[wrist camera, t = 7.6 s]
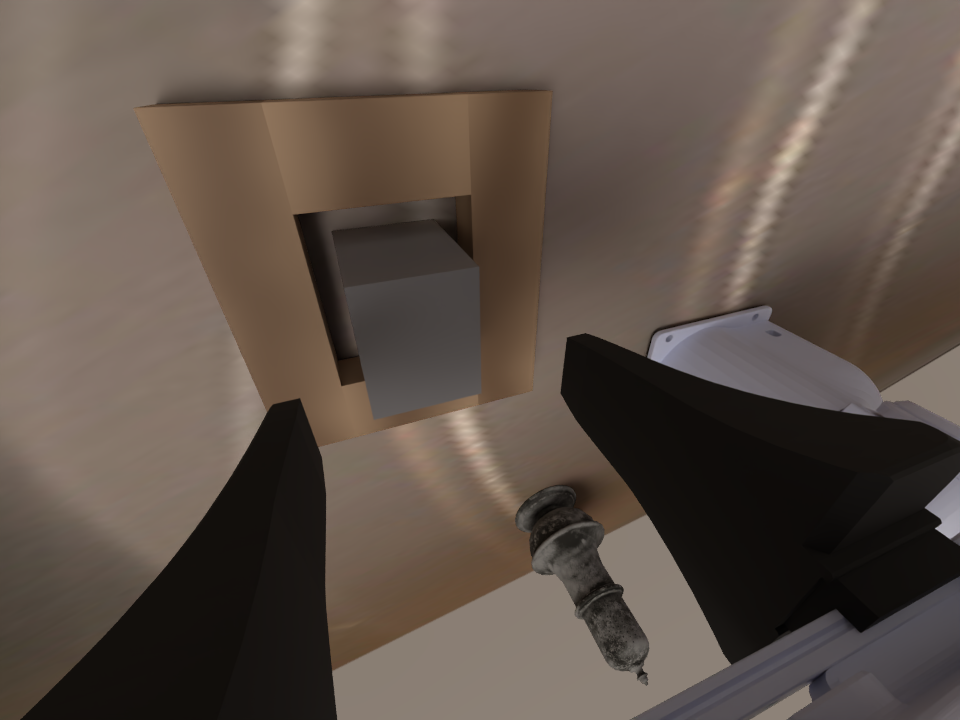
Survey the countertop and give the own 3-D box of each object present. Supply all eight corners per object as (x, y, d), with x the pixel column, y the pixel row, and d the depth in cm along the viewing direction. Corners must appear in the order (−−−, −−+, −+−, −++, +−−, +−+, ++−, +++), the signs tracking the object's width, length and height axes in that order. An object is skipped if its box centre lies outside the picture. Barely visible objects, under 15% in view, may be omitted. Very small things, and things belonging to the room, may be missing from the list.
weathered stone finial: (542, 538, 34) (633, 708, 25) (496, 526, 31) (582, 719, 21) (591, 492, 33) (706, 654, 24) (549, 474, 29) (664, 656, 20)
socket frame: (526, 89, 15) (552, 90, 14) (516, 369, 23) (532, 390, 21) (155, 104, 12) (133, 107, 10) (287, 425, 19) (286, 455, 18)
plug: (433, 218, 17) (479, 267, 12) (441, 325, 19) (481, 393, 15) (331, 230, 15) (343, 287, 11) (356, 341, 18) (373, 420, 14)
